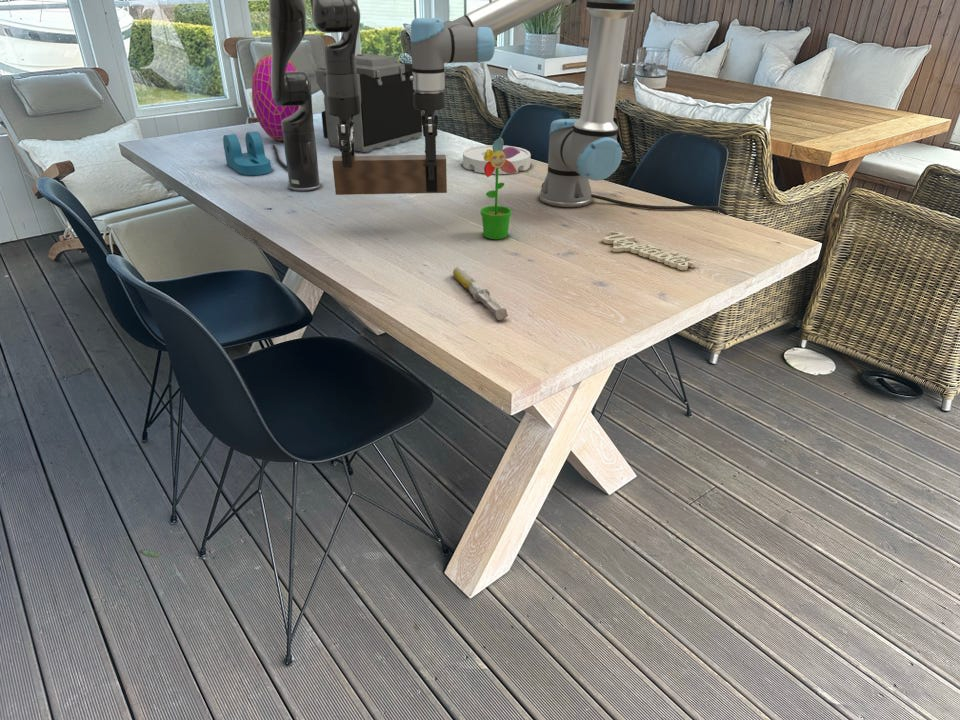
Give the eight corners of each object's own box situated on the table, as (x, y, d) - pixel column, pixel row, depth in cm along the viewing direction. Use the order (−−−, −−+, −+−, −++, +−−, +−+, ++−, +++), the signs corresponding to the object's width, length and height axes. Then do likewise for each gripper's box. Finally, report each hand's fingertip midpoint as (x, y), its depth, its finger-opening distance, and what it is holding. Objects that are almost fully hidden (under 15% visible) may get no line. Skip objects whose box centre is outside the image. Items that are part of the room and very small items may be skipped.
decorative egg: (293, 132, 276) (283, 50, 261) (319, 140, 264) (310, 56, 249) (249, 139, 265) (236, 54, 250) (273, 148, 253) (261, 60, 238)
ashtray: (464, 155, 246) (464, 144, 244) (529, 157, 246) (529, 145, 244) (461, 173, 226) (461, 161, 224) (531, 174, 226) (531, 162, 224)
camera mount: (227, 164, 233) (221, 132, 227) (257, 160, 238) (252, 129, 233) (244, 176, 220) (239, 143, 215) (276, 172, 225) (271, 139, 220)
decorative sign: (589, 238, 172) (614, 230, 178) (588, 242, 173) (613, 233, 179) (677, 270, 156) (702, 259, 161) (677, 274, 156) (701, 263, 162)
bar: (446, 187, 177) (445, 154, 172) (446, 192, 173) (446, 159, 168) (337, 189, 175) (334, 155, 170) (335, 194, 171) (332, 160, 166)
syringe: (449, 274, 155) (449, 263, 153) (465, 272, 156) (464, 260, 154) (490, 323, 135) (491, 310, 133) (508, 319, 136) (508, 307, 134)
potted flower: (487, 243, 172) (489, 140, 159) (473, 233, 178) (473, 134, 165) (519, 237, 176) (524, 137, 163) (505, 227, 182) (508, 130, 169)
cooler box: (385, 129, 283) (380, 49, 267) (426, 136, 272) (424, 54, 256) (318, 145, 257) (309, 59, 242) (361, 155, 246) (354, 64, 231)
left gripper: (329, 88, 167) (336, 156, 175) (323, 98, 155) (330, 170, 163) (361, 88, 167) (366, 155, 176) (357, 98, 155) (362, 170, 163)
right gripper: (412, 84, 170) (416, 178, 181) (412, 97, 154) (416, 199, 166) (443, 84, 170) (444, 178, 182) (446, 97, 155) (447, 198, 167)
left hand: (349, 162), depth 169 cm, fingers open, 8 cm apart
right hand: (431, 188), depth 174 cm, fingers closed on bar, 5 cm apart
